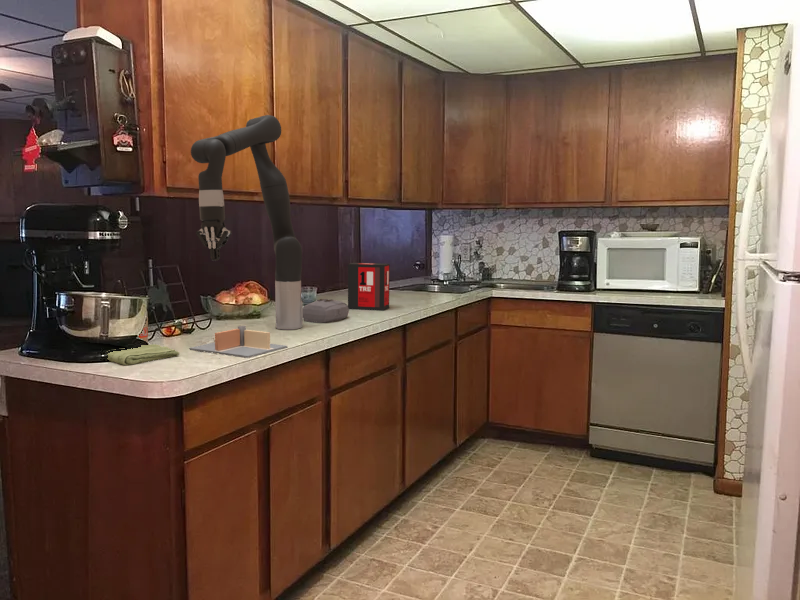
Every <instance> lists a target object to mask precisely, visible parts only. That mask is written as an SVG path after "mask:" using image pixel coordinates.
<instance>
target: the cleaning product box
mask: <svg viewBox="0 0 800 600" xmlns="http://www.w3.org/2000/svg"><path fill="white" fill-rule="evenodd" d="M390 266H391V265H390V263H379V262H378V263H377V262H376V263H372V262H370V263H369V262H351V263H347V306H348V308H349V310H355V311H356V310H357V311H358V310H361V311H378V312H381V311H382V312H384V311H387V310H388V309H390Z"/></svg>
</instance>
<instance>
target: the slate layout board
mask: <svg viewBox="0 0 800 600" xmlns="http://www.w3.org/2000/svg"><path fill="white" fill-rule="evenodd" d="M237 329H240V345H239V346H235V347H230V348H226V349H221V350H215V341H214V342H210V343H206V344H201V345H196V346H192V347H189V348H188V349H190V351H196V350H198V352H203V351H205V352H204V353H210V352H213V353H212V354H217V353H219V355H224V354H226V356H231V355H233V357H240V358H247V359H249V358H252V357H257V356H260V355H264V354H267V353H271V352H274V351H279V350H283V349H286V348H288V345H284V344H276V343H271V332H270V331H269V332H268V331H261V330H254V329H247V326H245V325H238V326H237Z"/></svg>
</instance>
